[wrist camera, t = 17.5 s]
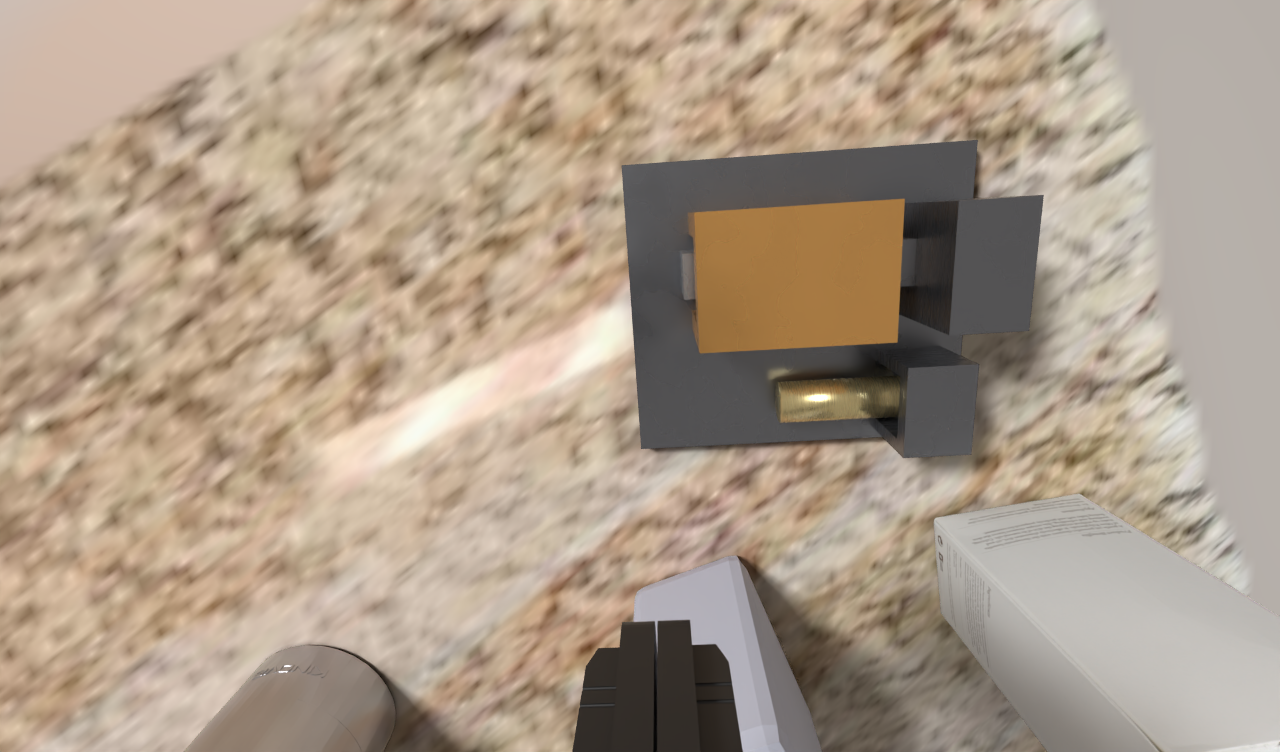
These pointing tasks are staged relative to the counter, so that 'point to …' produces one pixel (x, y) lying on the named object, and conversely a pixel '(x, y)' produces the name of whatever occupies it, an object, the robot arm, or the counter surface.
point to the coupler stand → (745, 380)
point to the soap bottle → (738, 650)
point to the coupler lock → (797, 275)
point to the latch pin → (837, 399)
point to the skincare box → (1108, 632)
